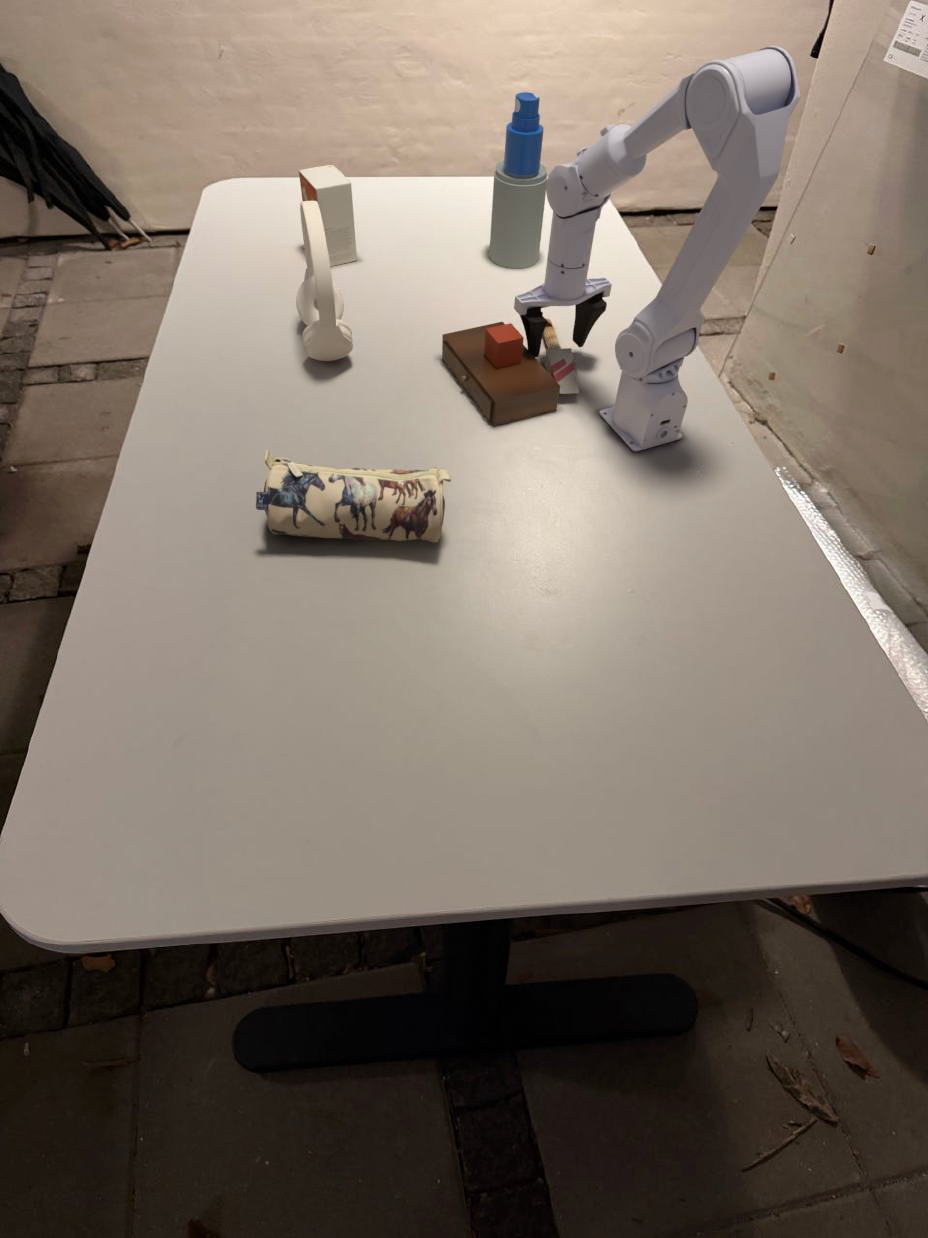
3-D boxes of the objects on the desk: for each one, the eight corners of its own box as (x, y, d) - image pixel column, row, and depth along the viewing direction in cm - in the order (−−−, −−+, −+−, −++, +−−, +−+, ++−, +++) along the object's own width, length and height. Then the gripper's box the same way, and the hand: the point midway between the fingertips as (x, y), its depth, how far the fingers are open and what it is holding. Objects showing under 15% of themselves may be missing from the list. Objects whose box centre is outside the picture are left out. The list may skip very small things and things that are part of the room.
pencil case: (262, 550, 91) (247, 486, 83) (276, 500, 96) (263, 437, 89) (448, 559, 91) (449, 496, 84) (451, 509, 96) (453, 446, 89)
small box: (307, 247, 138) (297, 169, 128) (340, 241, 140) (333, 163, 130) (324, 268, 134) (315, 188, 124) (358, 261, 136) (352, 181, 126)
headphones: (309, 380, 113) (290, 242, 97) (297, 315, 124) (278, 181, 108) (358, 375, 114) (347, 238, 98) (341, 311, 125) (329, 178, 110)
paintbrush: (557, 384, 109) (535, 315, 122) (555, 401, 111) (533, 331, 124) (584, 383, 109) (559, 314, 122) (581, 400, 111) (557, 331, 124)
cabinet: (556, 409, 110) (560, 385, 107) (488, 427, 107) (490, 403, 104) (500, 344, 120) (502, 321, 117) (437, 359, 117) (437, 335, 114)
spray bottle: (502, 272, 135) (515, 108, 116) (480, 249, 140) (489, 88, 121) (547, 263, 138) (566, 101, 118) (524, 241, 143) (539, 82, 123)
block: (521, 362, 110) (523, 337, 107) (496, 368, 109) (498, 343, 106) (508, 348, 113) (510, 322, 110) (484, 353, 111) (485, 328, 108)
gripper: (599, 236, 109) (584, 325, 119) (507, 253, 105) (500, 344, 115) (626, 259, 105) (608, 349, 116) (531, 278, 101) (521, 369, 111)
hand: (555, 348), depth 115 cm, fingers open, 7 cm apart
